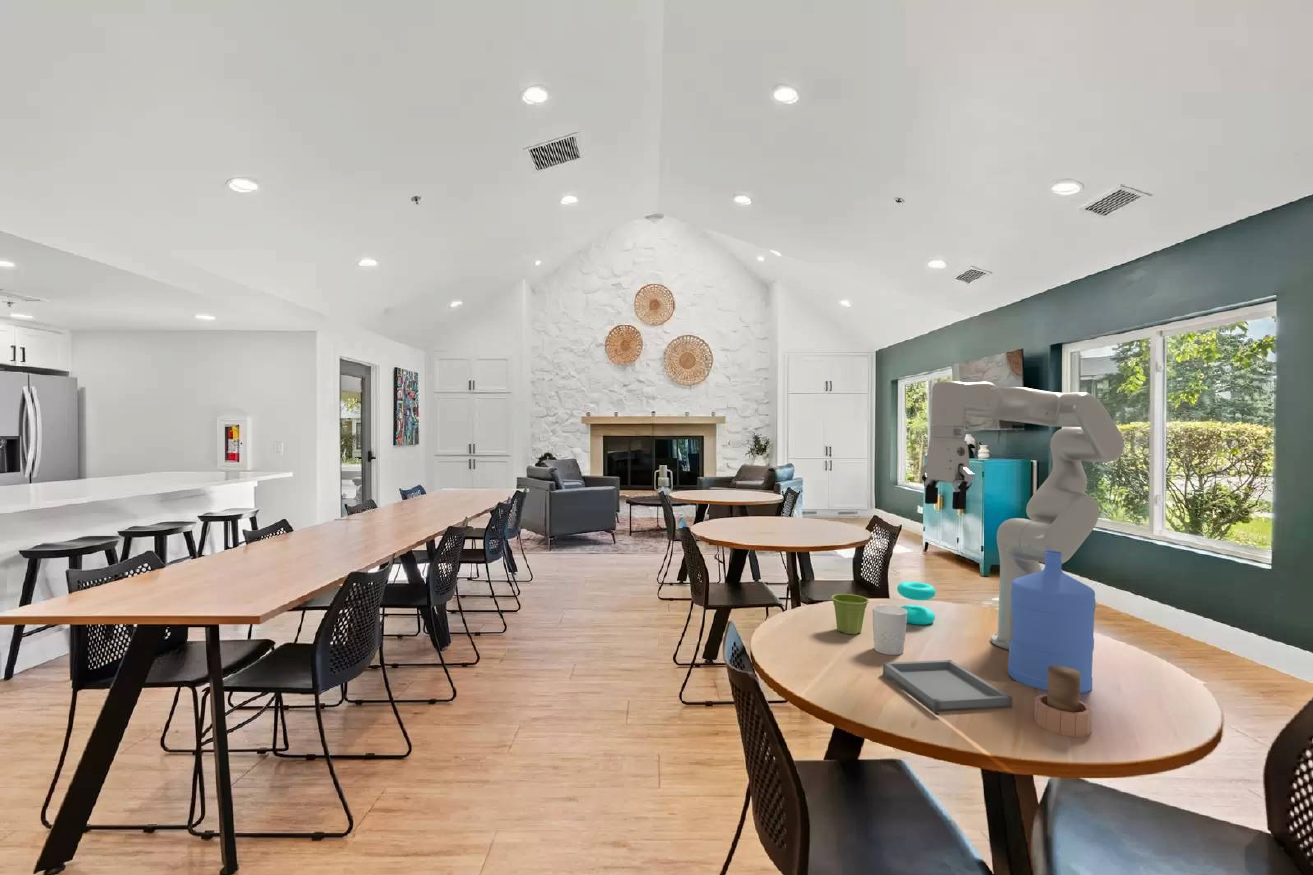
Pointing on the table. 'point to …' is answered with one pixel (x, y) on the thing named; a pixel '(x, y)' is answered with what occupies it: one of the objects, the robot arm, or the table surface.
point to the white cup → (889, 629)
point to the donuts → (917, 592)
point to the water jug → (1051, 625)
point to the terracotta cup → (1063, 718)
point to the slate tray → (945, 686)
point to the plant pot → (849, 612)
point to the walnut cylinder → (1063, 688)
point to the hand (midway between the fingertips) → (944, 506)
